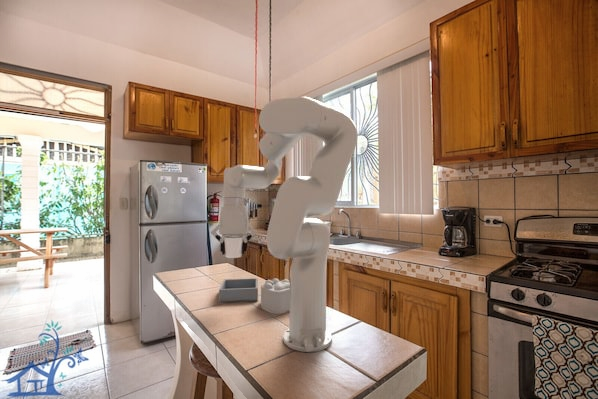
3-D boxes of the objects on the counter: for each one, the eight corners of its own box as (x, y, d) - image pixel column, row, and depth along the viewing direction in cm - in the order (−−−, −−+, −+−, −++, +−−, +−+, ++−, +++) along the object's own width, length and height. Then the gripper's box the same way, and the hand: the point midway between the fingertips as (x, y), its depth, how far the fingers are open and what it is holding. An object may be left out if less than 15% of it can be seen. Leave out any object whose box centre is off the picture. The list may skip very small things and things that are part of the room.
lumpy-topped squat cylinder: (275, 315, 85) (275, 288, 86) (253, 304, 95) (253, 279, 95) (300, 307, 92) (300, 282, 92) (277, 297, 102) (277, 274, 102)
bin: (257, 301, 98) (257, 288, 98) (219, 302, 96) (219, 289, 96) (257, 289, 111) (257, 278, 112) (223, 290, 109) (223, 279, 109)
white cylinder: (245, 254, 98) (245, 235, 99) (240, 258, 92) (240, 238, 92) (227, 254, 99) (227, 235, 99) (220, 258, 92) (220, 237, 92)
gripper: (258, 203, 101) (258, 251, 101) (210, 202, 98) (209, 252, 97) (259, 203, 93) (258, 255, 93) (207, 202, 90) (206, 256, 90)
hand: (233, 253), depth 95 cm, fingers closed on white cylinder, 6 cm apart
